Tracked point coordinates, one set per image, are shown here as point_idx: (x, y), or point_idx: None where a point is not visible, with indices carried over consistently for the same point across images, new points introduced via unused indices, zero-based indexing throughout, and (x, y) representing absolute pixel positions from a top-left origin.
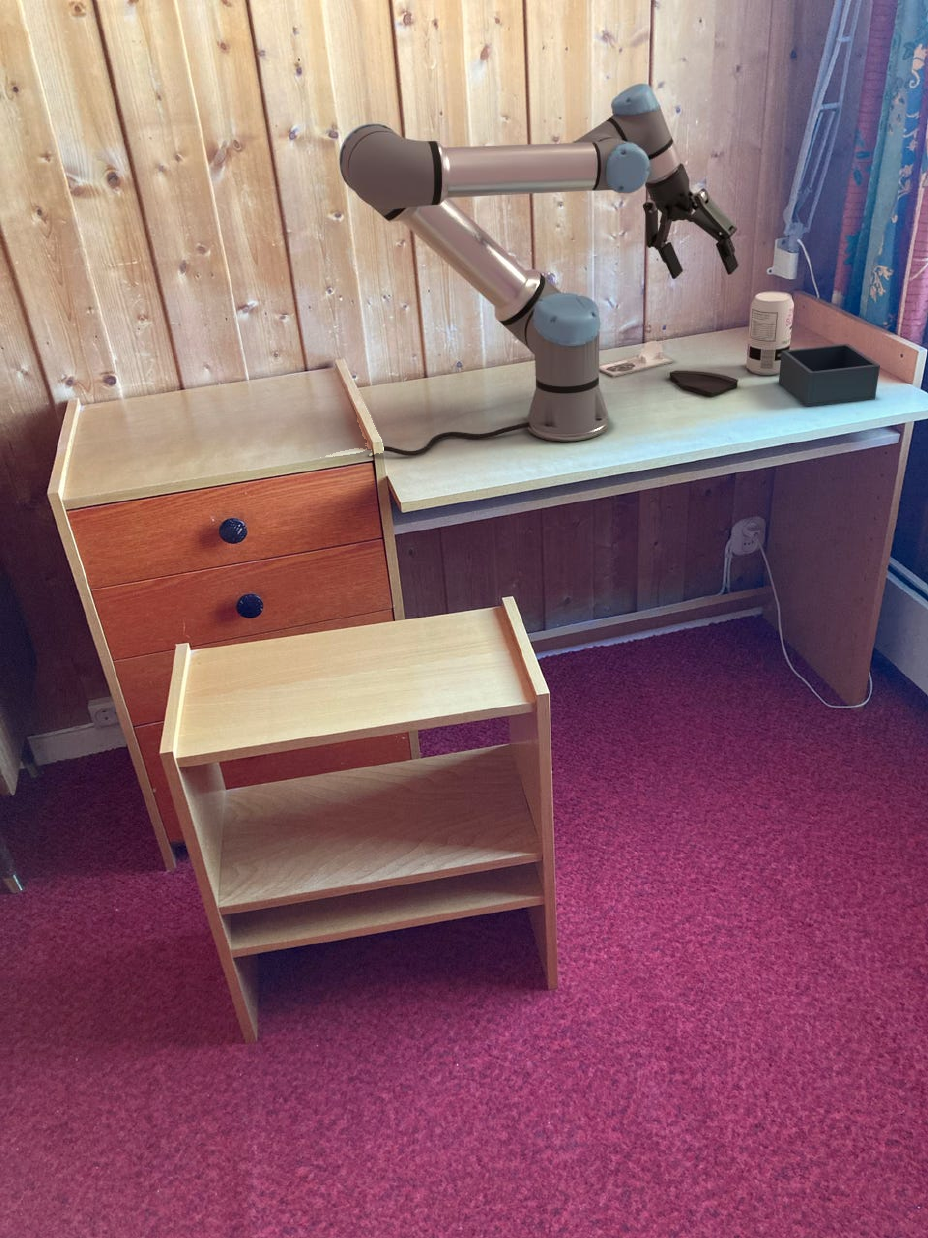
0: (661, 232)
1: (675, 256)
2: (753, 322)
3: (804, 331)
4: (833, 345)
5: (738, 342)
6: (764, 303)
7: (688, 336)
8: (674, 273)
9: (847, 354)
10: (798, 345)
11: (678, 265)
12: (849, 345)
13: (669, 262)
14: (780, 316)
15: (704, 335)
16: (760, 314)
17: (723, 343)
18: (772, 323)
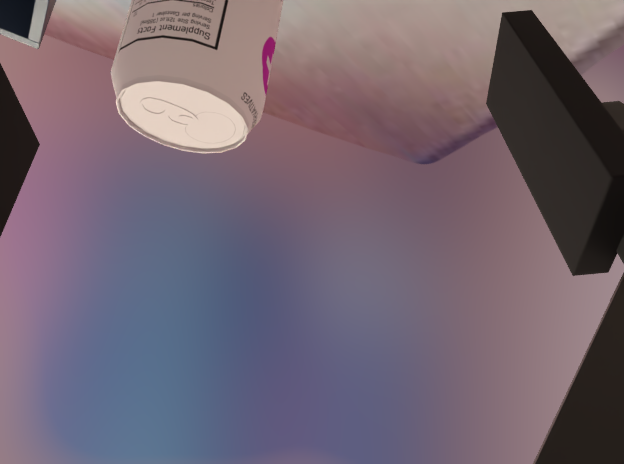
0: (622, 368)
1: (527, 169)
2: (211, 2)
3: (353, 136)
4: (39, 24)
5: (445, 43)
6: (155, 70)
7: (616, 24)
8: (511, 41)
9: (14, 13)
10: (305, 79)
11: (505, 116)
12: (19, 40)
13: (548, 96)
14: (119, 45)
15: (567, 47)
16: (169, 28)
17: (481, 22)
18: (135, 11)
